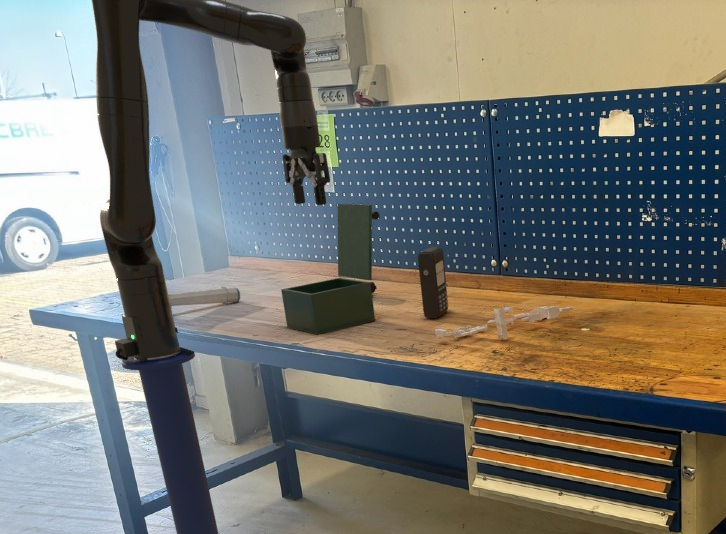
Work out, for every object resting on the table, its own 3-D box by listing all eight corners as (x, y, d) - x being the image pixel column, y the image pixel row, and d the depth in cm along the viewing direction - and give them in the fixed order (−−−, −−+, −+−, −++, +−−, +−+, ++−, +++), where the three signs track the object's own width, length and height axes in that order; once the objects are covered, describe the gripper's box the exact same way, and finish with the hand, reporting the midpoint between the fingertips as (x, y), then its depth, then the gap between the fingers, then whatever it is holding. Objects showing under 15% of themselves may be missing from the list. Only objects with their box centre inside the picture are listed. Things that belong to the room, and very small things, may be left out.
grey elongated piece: (467, 350, 161) (423, 352, 169) (574, 322, 187) (531, 325, 195) (462, 316, 160) (417, 320, 168) (571, 292, 186) (527, 297, 193)
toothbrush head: (241, 287, 226) (149, 291, 208) (242, 312, 228) (151, 319, 209) (230, 285, 229) (139, 290, 211) (232, 310, 231) (141, 317, 213)
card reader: (439, 319, 193) (433, 252, 187) (422, 319, 193) (415, 252, 188) (450, 310, 201) (444, 246, 195) (434, 310, 202) (428, 246, 196)
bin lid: (369, 204, 188) (389, 206, 192) (337, 203, 196) (357, 204, 200) (368, 280, 192) (389, 279, 196) (337, 275, 201) (357, 275, 205)
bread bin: (316, 334, 186) (310, 294, 183) (287, 327, 194) (281, 289, 191) (375, 320, 196) (370, 282, 193) (344, 314, 204) (339, 277, 201)
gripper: (266, 126, 181) (278, 205, 187) (301, 124, 172) (313, 207, 178) (297, 125, 186) (308, 201, 192) (333, 122, 176) (343, 203, 182)
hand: (310, 204), depth 185 cm, fingers open, 8 cm apart
